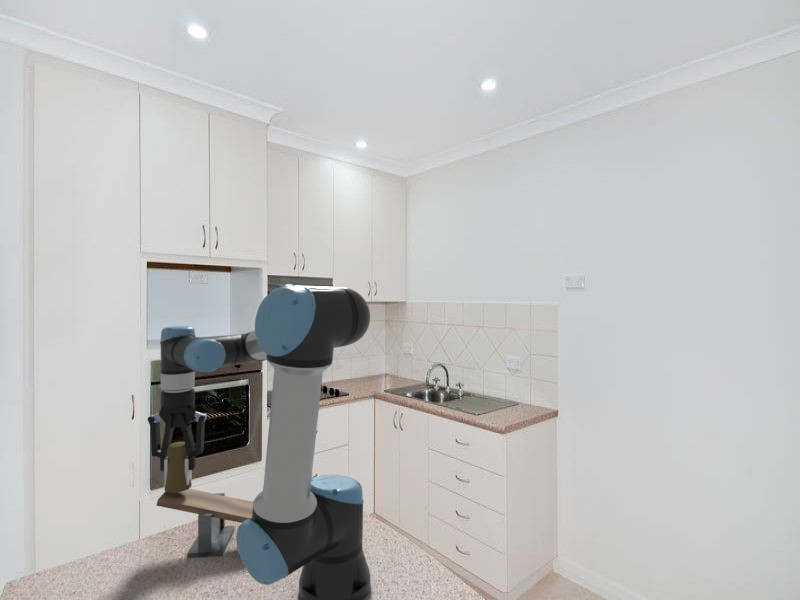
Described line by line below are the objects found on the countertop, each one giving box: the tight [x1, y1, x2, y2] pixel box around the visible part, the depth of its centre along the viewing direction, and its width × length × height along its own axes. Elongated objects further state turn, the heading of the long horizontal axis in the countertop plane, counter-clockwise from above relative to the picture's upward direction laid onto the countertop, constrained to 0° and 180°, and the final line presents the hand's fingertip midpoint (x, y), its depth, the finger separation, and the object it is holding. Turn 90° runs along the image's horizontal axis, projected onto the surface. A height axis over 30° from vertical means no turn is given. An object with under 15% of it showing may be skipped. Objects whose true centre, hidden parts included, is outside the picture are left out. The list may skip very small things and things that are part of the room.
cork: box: [164, 441, 192, 493], centre depth 110 cm, size 6×6×11 cm
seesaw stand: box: [186, 492, 236, 559], centre depth 111 cm, size 12×8×10 cm
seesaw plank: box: [155, 488, 254, 524], centre depth 111 cm, size 9×24×2 cm, turn 97°
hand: (178, 482), depth 110 cm, fingers closed on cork, 4 cm apart
